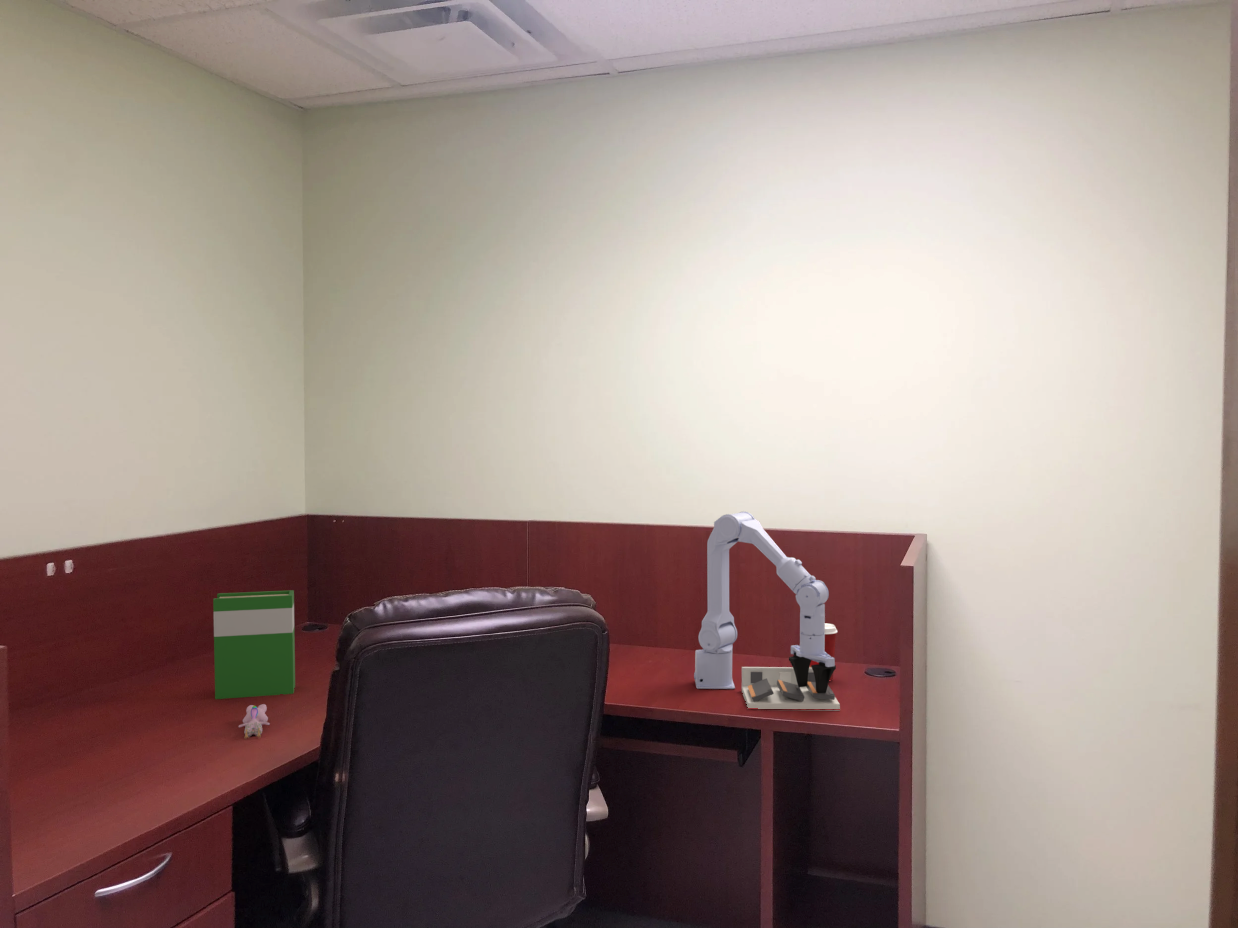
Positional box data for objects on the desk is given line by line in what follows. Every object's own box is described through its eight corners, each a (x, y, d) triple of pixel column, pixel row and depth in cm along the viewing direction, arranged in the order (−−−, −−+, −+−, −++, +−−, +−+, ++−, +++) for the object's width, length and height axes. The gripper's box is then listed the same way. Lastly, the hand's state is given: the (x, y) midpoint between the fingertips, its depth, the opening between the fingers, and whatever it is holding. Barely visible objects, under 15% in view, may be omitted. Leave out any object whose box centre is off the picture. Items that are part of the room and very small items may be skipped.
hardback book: (215, 699, 230) (213, 599, 228) (219, 690, 237) (217, 593, 236) (293, 693, 234) (291, 595, 233) (295, 685, 241) (293, 590, 240)
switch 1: (753, 701, 223) (751, 697, 223) (749, 689, 233) (747, 685, 233) (773, 693, 223) (771, 689, 223) (768, 681, 233) (766, 677, 233)
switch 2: (782, 695, 223) (783, 690, 223) (776, 683, 233) (777, 678, 233) (803, 701, 223) (804, 696, 223) (796, 688, 233) (797, 684, 233)
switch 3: (812, 697, 223) (813, 692, 223) (805, 685, 233) (806, 680, 233) (834, 699, 223) (834, 694, 223) (826, 687, 233) (826, 682, 233)
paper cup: (834, 675, 251) (835, 622, 251) (838, 684, 244) (839, 629, 243) (804, 675, 252) (805, 621, 251) (807, 683, 244) (807, 628, 244)
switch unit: (748, 709, 222) (748, 683, 222) (741, 690, 237) (741, 666, 237) (839, 710, 222) (840, 684, 222) (827, 691, 237) (827, 667, 237)
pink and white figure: (268, 743, 203) (272, 711, 217) (267, 717, 202) (272, 686, 216) (236, 746, 201) (242, 713, 215) (235, 720, 200) (242, 688, 214)
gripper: (780, 628, 232) (779, 684, 233) (817, 640, 219) (816, 700, 219) (804, 626, 235) (804, 681, 236) (842, 638, 222) (841, 696, 222)
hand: (811, 690), depth 228 cm, fingers open, 7 cm apart
